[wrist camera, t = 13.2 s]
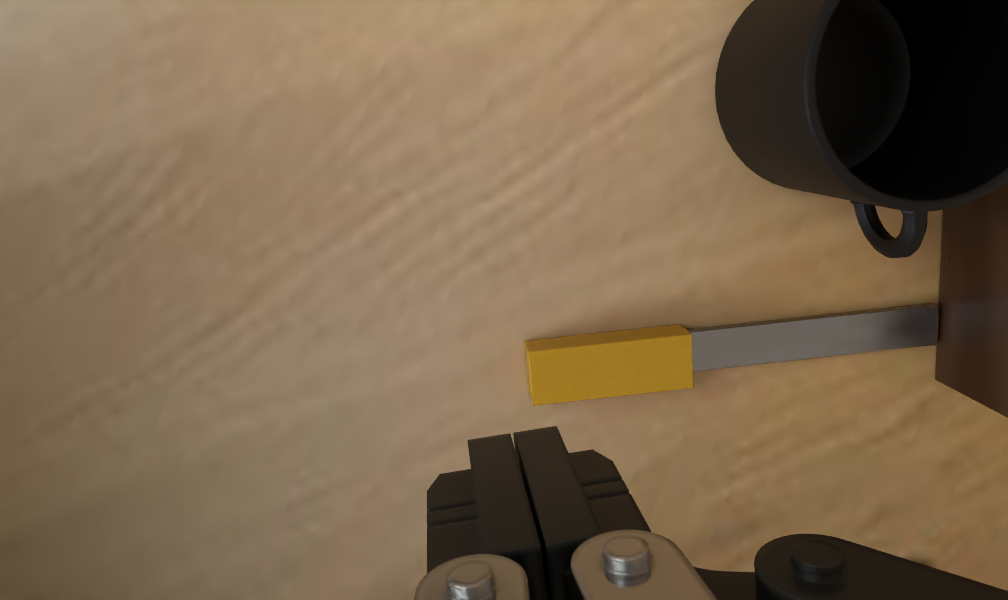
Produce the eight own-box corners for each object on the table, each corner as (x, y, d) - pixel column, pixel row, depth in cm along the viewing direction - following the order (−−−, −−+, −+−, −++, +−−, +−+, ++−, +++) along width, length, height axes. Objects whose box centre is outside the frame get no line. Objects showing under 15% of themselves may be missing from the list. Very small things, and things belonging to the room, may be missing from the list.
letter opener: (528, 392, 37) (532, 406, 35) (523, 340, 36) (528, 351, 34) (930, 347, 38) (954, 358, 36) (933, 296, 37) (957, 305, 35)
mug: (739, 264, 36) (835, 311, 27) (694, -1, 33) (785, -44, 24) (931, 215, 36) (1088, 246, 27) (903, -53, 33) (1069, -115, 24)
